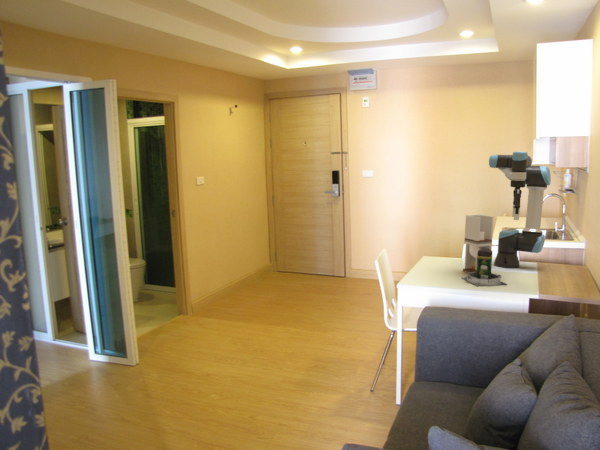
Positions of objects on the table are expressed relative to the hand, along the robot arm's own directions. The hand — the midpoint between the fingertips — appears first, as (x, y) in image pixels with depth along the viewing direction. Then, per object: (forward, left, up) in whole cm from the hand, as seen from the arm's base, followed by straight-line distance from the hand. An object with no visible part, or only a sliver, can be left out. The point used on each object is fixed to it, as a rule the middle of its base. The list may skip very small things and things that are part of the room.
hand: (515, 218), depth 278 cm
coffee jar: (+14, -5, -36) cm, 39 cm away
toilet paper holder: (+8, -24, -37) cm, 45 cm away
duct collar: (+14, -5, -37) cm, 40 cm away
